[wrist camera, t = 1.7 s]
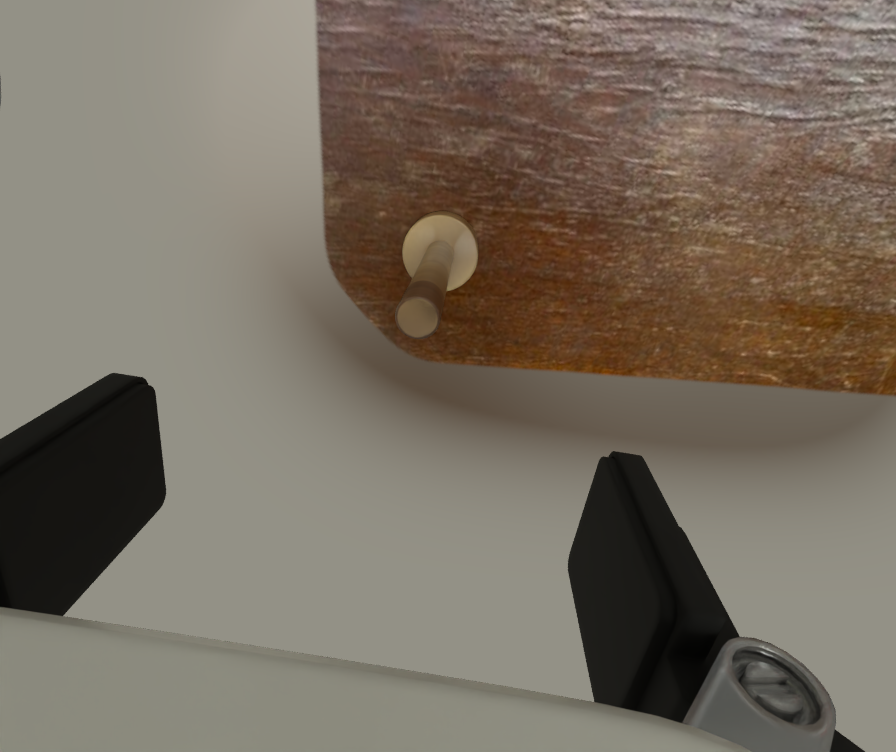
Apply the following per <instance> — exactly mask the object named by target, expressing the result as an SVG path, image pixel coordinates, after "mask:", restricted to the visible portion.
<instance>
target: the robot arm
mask: <svg viewBox="0 0 896 752" xmlns="http://www.w3.org/2000/svg"><path fill="white" fill-rule="evenodd" d="M165 496H166V485H165V477H164V467H163V458H162V450H161V440H160V431H159V422H158V413H157V403H156V395H155V390H154V388H153V387H152V386H149V385H148V383H147V381H146V379H144V378H143V377H137V376H130V375H124V374H118V373H112V374H109V375H107V376H106V377H104V378H102V379H101V380H99V381H97V382H95V383H94V384H92V385H90V386H89V387H87V388H85V389H84V390H82V391H80V392H79V393H77V394H75V395H74V396H72V397H70V398H69V399H67V400H65V401H63V402H62V403H60V404H58V405H57V406H55V407H53V408H52V409H50V410H48V411H47V412H45V413H44V414H42V415H40V416H38V417H37V418H35V419H33V420H32V421H30V422H28V423H27V424H25V425H23V426H21V427H20V428H18V429H16V430H15V431H13V432H12V433H10V434H8V435H6V436H5V437H3V438H2V439H0V752H865V751H863V750H862V749H861V748H859V747H858V746H857V745H855V744H854V743H853V742H851V741H850V740H849V739H847V738H846V737H844V736H843V735H841V734H840V733H839V732H838V731H836V730H835V726H836V714H835V708H834V705H833V703H832V701H831V698H830V696H829V694H828V692H827V691H826V690H825V688H824V687H823V685H822V684H821V682H820V681H819V680H818V679H817V678H816V676H814V674H812V672H811V671H809V669H807V667H806V666H805V665H804V664H802V663H801V662H800V661H798V660H797V659H796V658H794V657H793V656H791V655H790V654H789V653H787V652H786V651H784V650H782V649H780V648H778V647H776V646H774V645H773V644H771V643H768V642H764V641H762V640H759V639H755V638H748V637H739V634H738V633H737V631H736V629H735V627H734V625H733V623H732V621H731V619H730V617H729V615H728V614H727V612H726V610H725V608H724V606H723V604H722V602H721V600H720V599H719V597H718V595H717V593H716V591H715V589H714V588H713V585H712V583H711V581H710V580H709V578H708V576H707V574H706V572H705V570H704V568H703V566H702V564H701V563H700V561H699V559H698V557H697V555H696V553H695V551H694V550H693V547H692V545H691V543H690V542H689V540H688V538H687V536H686V534H685V532H684V531H683V530H682V528H681V527H679V526H678V524H677V522H676V520H675V518H674V516H673V514H672V512H671V511H670V508H669V507H668V505H667V503H666V501H665V499H664V497H663V495H662V493H661V491H660V489H659V487H658V486H657V483H656V482H655V480H654V478H653V476H652V474H651V472H650V470H649V468H648V466H647V464H646V462H645V461H644V459H643V457H642V456H640V455H634V454H628V453H621V452H615V451H613V452H612V453H611V454H610V455H609V457H601V459H600V460H599V463H598V466H597V469H596V472H595V475H594V479H593V482H592V485H591V488H590V491H589V494H588V497H587V501H586V504H585V507H584V510H583V513H582V517H581V520H580V523H579V526H578V529H577V532H576V536H575V538H574V541H573V545H572V548H571V551H570V554H569V560H568V572H569V578H570V583H571V588H572V592H573V598H574V603H575V608H576V613H577V617H578V623H579V628H580V633H581V638H582V642H583V647H584V652H585V657H586V662H587V667H588V672H589V677H590V682H591V687H592V692H593V697H594V702H590V701H585V700H579V699H574V698H568V697H563V696H556V695H551V694H546V693H540V692H535V691H529V690H524V689H518V688H513V687H507V686H501V685H495V684H489V683H483V682H477V681H470V680H465V679H459V678H452V677H446V676H440V675H434V674H428V673H421V672H416V671H409V670H403V669H397V668H391V667H385V666H379V665H372V664H366V663H360V662H354V661H348V660H341V659H335V658H329V657H323V656H316V655H310V654H304V653H298V652H291V651H284V650H279V649H272V648H266V647H258V646H253V645H246V644H240V643H233V642H228V641H221V640H215V639H208V638H202V637H196V636H189V635H183V634H176V633H170V632H163V631H157V630H150V629H144V628H136V627H130V626H124V625H117V624H111V623H104V622H97V621H91V620H83V619H77V618H71V617H64V616H63V615H64V614H65V613H66V612H67V611H68V610H69V609H70V607H71V606H72V605H73V604H74V603H75V602H76V601H77V600H78V599H79V597H80V596H81V595H82V594H83V593H84V592H85V591H86V590H87V589H88V588H89V586H90V585H91V584H92V583H93V582H94V581H95V580H96V579H97V578H98V576H99V575H100V574H101V573H102V572H103V571H104V570H105V569H106V568H107V567H108V565H109V564H110V563H111V562H112V561H113V560H114V559H115V558H116V557H117V556H118V554H119V553H120V552H121V551H122V550H123V549H124V548H125V547H126V546H127V544H128V543H129V542H130V541H131V540H132V539H133V538H134V537H135V536H136V535H137V533H138V532H139V531H140V530H141V529H142V528H143V527H144V526H145V525H146V524H147V522H148V521H149V520H150V519H151V518H152V517H153V516H154V515H155V513H156V512H157V511H158V510H159V509H160V508H161V506H162V504H163V503H164V500H165Z"/></svg>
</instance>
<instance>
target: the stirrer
mask: <svg viewBox="0 0 896 752" xmlns="http://www.w3.org/2000/svg"><path fill="white" fill-rule="evenodd" d="M402 256H403V262H404V265H405V268H406V270H407V272H408V274H409V275H410V276H411V278H412V280H411V282H410V284H409V286H408V288H407V289H406V291H405V293H404V295H403V297H402V299H401V301H400V303H399V305H398V307H397V309H396V313H395V320H396V324H397V326H398V328H399V329H400V330H401V332H402V333H404V334H405V335H406V336H408V337H411V338H414V339H423V338H427V337H429V336H431V335H432V334H433V333H434V332H435V331H436V330H437V329H438V327H439V324H440V320H441V315H442V311H443V306H444V299H445V295H446V291H450V290H453V289H456V288H458V287H460V286H461V285H463V284H464V283H465V282H467V280H468V279H469V278H470V277H471V276H472V274H473V272H474V271H475V268H476V266H477V262H478V240H477V237H476V234H475V232H474V230H473V228H472V226H471V225H470V224H469V223H468V222H467V221H466V220H465V219H464V218H462V217H461V216H459V215H457V214H455V213H452V212H448V211H436V212H431V213H429V214H426V215H424V216H423V217H421V218H420V219H419V220H418V221H417V222H416V223H415V224H414V225H413V226H412V228H411V229H410V230H409V232H408V233H407V235H406V237H405V240H404V243H403V249H402Z"/></svg>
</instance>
